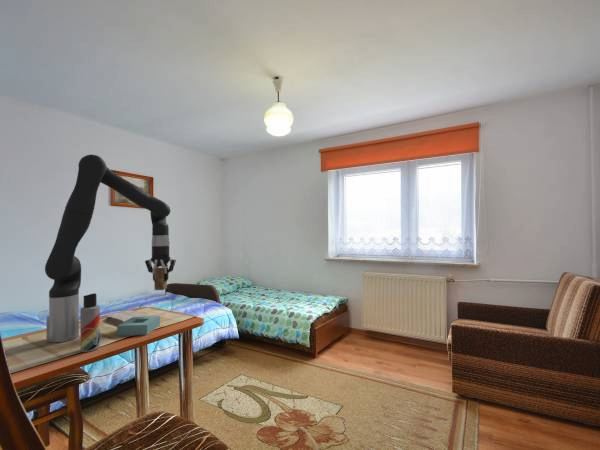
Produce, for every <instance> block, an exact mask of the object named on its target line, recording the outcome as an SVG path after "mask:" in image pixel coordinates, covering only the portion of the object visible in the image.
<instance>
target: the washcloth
mask: <svg viewBox="0 0 600 450" xmlns="http://www.w3.org/2000/svg"><path fill="white" fill-rule="evenodd" d="M132 317H148V315H147V314H145V313H141V312H139V311H135V310H131V309H128V310H127V309H126V310H124V311H120V312H114V313H111V314H110V313H109V314H106V317H105V319H106V320H107V321H108V322H111V323H113V324H117V325H120V324H121V323H123V322H125V321H127V320H128V319H130V318H132Z"/></svg>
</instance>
